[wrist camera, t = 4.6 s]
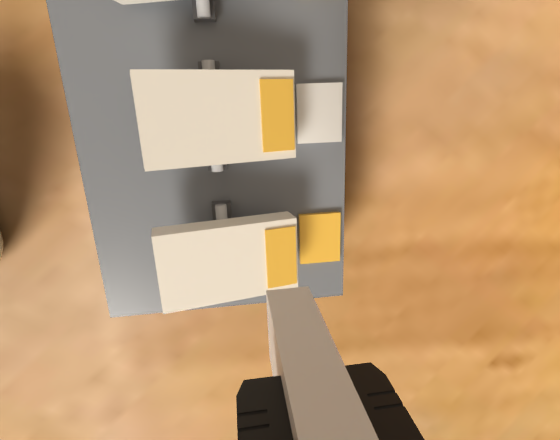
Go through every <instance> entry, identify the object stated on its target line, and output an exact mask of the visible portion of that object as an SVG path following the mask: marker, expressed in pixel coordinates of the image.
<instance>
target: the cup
mask: <svg viewBox="0 0 560 440" xmlns="http://www.w3.org/2000/svg"><path fill="white" fill-rule="evenodd" d="M2 253H3V237H2V234H1V231H0V260H1V257H2Z"/></svg>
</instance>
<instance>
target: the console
mask: <svg viewBox="0 0 560 440" xmlns="http://www.w3.org/2000/svg"><path fill="white" fill-rule="evenodd" d="M46 3H47V8H48V12H49V17H50V22H51V27H52V32H53V37H54V42H55V47H56V52H57V57H58V62H59V67H60V72H61V77H62V81H63V86H64V91H65V96H66V101H67V106H68V111H69V116H70V121H71V126H72V131H73V136H74V141H75V146H76V150H77V155H78V160H79V165H80V170H81V175H82V180H83V185H84V190H85V195H86V200H87V205H88V210H89V214H90V219H91V224H92V229H93V234H94V239H95V244H96V249H97V254H98V259H99V264H100V269H101V274H102V279H103V283H104V288H105V293H106V298H107V303H108V308H109V313H110V318H111V317H121V316H132V315H142V314H152V313H163V311H162V304H161V297H160V291H159V284H158V278H157V271H156V265H155V258H154V252H153V245H152V238H151V234H152V228H154V227H163V226H171V225H179V224H187V223H195V222H203V221H212V220H220V219H228V218H236V217H244V216H252V215H260V214H269V213H277V212H285V211H288V212H289V213H291V214H292V215H293V216H295V217H296V218H297V256H298V287H306V286H308V287H309V289H310V291H311V293H312V295H313V297H314V298H319V297H329V296H340V295H343V253H344V196H345V138H346V81H347V24H348V0H173V1H162V2H150V3H138V4H126V5H122V4H120V3H118V2H116V1H114V0H46ZM130 69H205V70H294V91H295V135H296V158H287V159H277V160H266V161H255V162H244V163H233V164H222V165H211V166H200V167H189V168H178V169H167V170H156V171H145V169H144V165H143V158H142V152H141V145H140V138H139V131H138V125H137V118H136V111H135V105H134V98H133V91H132V85H131V78H130ZM256 303H267V298H266V295H263V296H258V297H252V298H247V299H242V300H236V301H231V302H226V303H220V304H215V305H210V306H204V307H199V308H194V309H204V308H215V307H225V306H236V305H246V304H256ZM194 309H188V310H194ZM183 311H184V310H183Z"/></svg>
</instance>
